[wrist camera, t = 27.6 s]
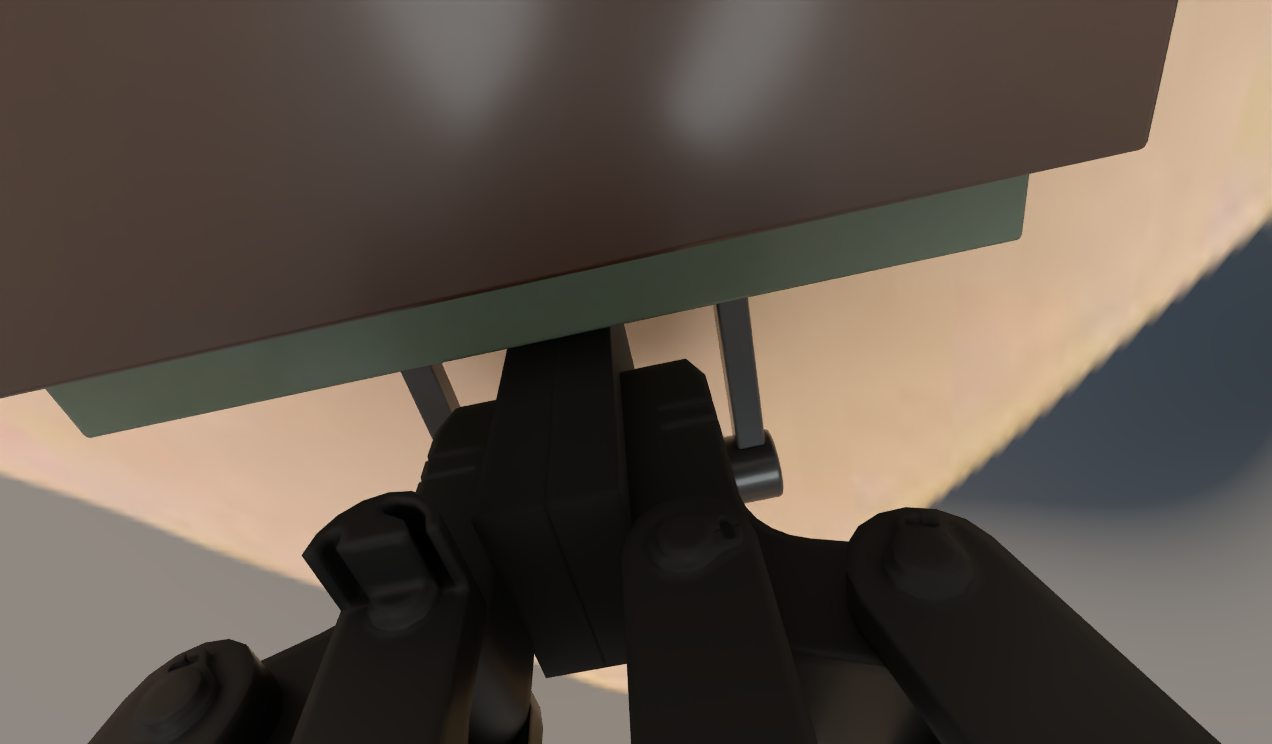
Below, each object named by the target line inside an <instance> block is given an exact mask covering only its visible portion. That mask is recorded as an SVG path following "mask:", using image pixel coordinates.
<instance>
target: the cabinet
mask: <svg viewBox="0 0 1272 744" xmlns="http://www.w3.org/2000/svg"><path fill="white" fill-rule="evenodd" d="M1177 3H1178V0H0V398H4V397H9V396H13V395H18V394H22V393H27V392H32V391H36V390H41V389H45V388H50V387H55V386H59V385H64V384H68V383H73V382H77V381H82V380H87V379H91V378H96V377H100V376H105V375H110V374H114V373H119V372H123V371H128V370H132V369H137V368H142V367H146V366H151V365H155V364H160V363H165V362H169V361H174V360H178V359H183V358H187V357H192V356H197V355H201V354H206V353H210V352H215V351H220V350H224V349H229V348H233V347H238V346H242V345H247V344H252V343H256V342H261V341H265V340H270V339H275V338H279V337H284V336H288V335H293V334H297V333H302V332H307V331H311V330H316V329H320V328H325V327H329V326H334V325H339V324H343V323H348V322H352V321H357V320H362V319H366V318H371V317H375V316H380V315H384V314H389V313H394V312H398V311H403V310H407V309H412V308H417V307H421V306H426V305H430V304H435V303H439V302H444V301H449V300H453V299H458V298H462V297H467V296H472V295H476V294H481V293H485V292H490V291H494V290H499V289H504V288H508V287H513V286H517V285H522V284H527V283H531V282H536V281H540V280H545V279H549V278H554V277H559V276H563V275H568V274H572V273H577V272H582V271H586V270H591V269H595V268H600V267H604V266H609V265H614V264H618V263H623V262H627V261H632V260H637V259H641V258H646V257H650V256H655V255H659V254H664V253H669V252H673V251H678V250H682V249H687V248H692V247H696V246H701V245H705V244H710V243H714V242H719V241H724V240H728V239H733V238H737V237H742V236H746V235H751V234H756V233H760V232H765V231H769V230H774V229H779V228H783V227H788V226H792V225H797V224H801V223H806V222H811V221H815V220H820V219H824V218H829V217H834V216H838V215H843V214H847V213H852V212H856V211H861V210H866V209H870V208H875V207H879V206H884V205H889V204H893V203H898V202H902V201H907V200H911V199H916V198H921V197H925V196H930V195H934V194H939V193H944V192H948V191H953V190H957V189H962V188H966V187H971V186H976V185H980V184H985V183H989V182H994V181H999V180H1003V179H1008V178H1012V177H1017V176H1021V175H1026V174H1031V173H1035V172H1040V171H1044V170H1049V169H1054V168H1058V167H1063V166H1067V165H1072V164H1076V163H1081V162H1086V161H1090V160H1095V159H1099V158H1104V157H1109V156H1113V155H1118V154H1122V153H1127V152H1131V151H1136V150H1140V149H1141V148H1143V147H1144V146H1145V145H1146V143H1147V142H1148V137H1149V132H1150V128H1151V123H1152V119H1153V114H1154V109H1155V105H1156V100H1157V95H1158V91H1159V86H1160V82H1161V77H1162V72H1163V68H1164V63H1165V59H1166V54H1167V49H1168V45H1169V40H1170V35H1171V31H1172V26H1173V22H1174V17H1175V12H1176V8H1177Z"/></svg>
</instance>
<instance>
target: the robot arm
mask: <svg viewBox="0 0 1272 744" xmlns="http://www.w3.org/2000/svg"><path fill="white" fill-rule="evenodd" d="M302 557H303V558H304V559H305V561H306V562H307V564H308V565H309V566H310V568H311V569H312V571H313V572H314V573H315V575H316V576H317V578H318V579H319V581H320V582H321V583H322V585H323V586H324V588H325V589H326V590H327V592H328V593H329V595H330V596H331V597H332V599H333V600H334V602H335V603H336V604H337V606H338V607H339V608H340V610H341V612H340V615H339V618H338V620H337V623H336V625H335V626H333V627H332V628H330V629H328V630H326V631H324V632H322V633H321V634H319V635H316V636H314V637H312V638H310V639H308V640H305V641H303V642H301V643H299V644H297V645H295V646H292V647H290V648H288V649H286V650H284V651H282V652H279V653H277V654H275V655H273V656H271V657H268V658H266V659H264V660H262V661H260V660H259V659H258V657H257V656H256V655H255V654H254V653H253V652H252V651H251V649H250V648H249V647H248V646H247V645H246V644H243V643H240V642H237V641H234V640H230V639H227V640H220V641H213V642H206V643H204V644H201V645H199V646H197V647H194V648H192V649H190V650H188V651H185V652H183V653H181V654H179V655H177V656H175V657H174V658H173V659H171V660H170V661H168V662H167V663H166V664H164V665H163V666H161V667H160V668H158V669H157V670H156V671H154V672H153V673H151V674H150V675H149V676H148V677H147V678H146V679H145V680H144V681H143V682H142V683H141V684H140V685H139V686H138V687H137V688H136V689H135V690H134V691H133V692H132V693H131V694H130V695H129V696H128V697H127V698H126V699H125V700H124V701H123V702H122V703H121V704H120V706H119V707H118V708H117V709H116V710H115V712H114V713H113V714H112V715H111V716H110V718H109V719H108V720H107V721H106V722H105V724H104V725H103V726H102V727H101V729H100V730H99V731H98V732H97V733H96V734H95V736H94V737H93V738H92V739H91V741H90V742H89V743H88V744H542V734H543V733H542V732H543V725H542V718H541V710H540V706H539V705H538V703H537V701H536V699H535V697H534V695H533V693H532V691H531V687H532V675H533V662H534V654H535V656H536V658H537V660H538V662H539V664H540V666H541V668H542V671H543V673H544V675H545V677H546V678H549V677H555V676H561V675H566V674H572V673H577V672H583V671H588V670H594V669H600V668H605V667H611V666H616V665H622V664H627V675H628V694H629V712H630V731H631V744H1221V743H1220V742H1219V741H1218V740H1217V739H1216V738H1214V737H1213V736H1212V735H1211V734H1210V733H1209V732H1208V731H1207V730H1206V729H1204V728H1203V727H1202V726H1201V725H1200V724H1199V723H1198V722H1197V721H1196V720H1194V719H1193V718H1192V717H1191V716H1190V715H1189V714H1188V713H1187V712H1186V711H1185V710H1183V709H1182V708H1181V707H1180V706H1179V705H1178V704H1177V703H1176V702H1175V701H1173V700H1172V699H1171V698H1170V697H1169V696H1168V695H1167V694H1166V693H1165V692H1163V691H1162V690H1161V689H1160V688H1159V687H1158V686H1157V685H1156V684H1155V683H1153V681H1151V680H1150V679H1149V678H1148V677H1147V676H1146V675H1145V674H1144V673H1143V672H1141V671H1140V670H1139V669H1138V668H1137V667H1136V666H1135V665H1134V664H1133V663H1132V662H1130V661H1129V660H1128V659H1127V658H1126V657H1125V656H1124V655H1123V654H1122V653H1120V652H1119V651H1118V650H1117V649H1116V648H1115V647H1114V646H1113V645H1112V644H1111V643H1109V642H1108V641H1107V640H1106V639H1105V638H1104V637H1103V636H1102V635H1101V634H1099V633H1098V632H1097V631H1096V630H1095V629H1094V628H1093V627H1092V626H1091V625H1090V624H1088V623H1087V622H1086V621H1085V620H1084V619H1083V618H1082V617H1081V616H1080V615H1079V614H1077V613H1076V612H1075V611H1074V610H1073V609H1072V608H1071V607H1070V606H1069V605H1067V604H1066V603H1065V602H1064V601H1063V600H1062V599H1061V598H1060V597H1059V596H1057V595H1056V594H1055V593H1054V592H1053V591H1052V590H1051V589H1050V588H1049V587H1048V586H1046V585H1045V584H1044V583H1043V582H1042V581H1041V580H1040V579H1039V578H1038V577H1036V576H1035V575H1034V574H1033V573H1032V572H1031V571H1030V570H1029V569H1028V568H1027V567H1025V566H1024V565H1023V564H1022V563H1021V562H1020V561H1019V560H1018V559H1017V558H1015V557H1014V556H1013V555H1012V554H1011V553H1010V552H1009V551H1008V550H1007V549H1006V548H1004V547H1003V546H1002V545H1001V544H1000V543H999V542H998V541H997V540H996V539H995V538H993V537H992V536H991V535H989V534H988V533H986V532H985V531H983V530H982V529H980V528H979V527H977V526H976V525H974V524H973V523H971V522H970V521H968V520H967V519H964V518H961V517H958V516H955V515H952V514H949V513H946V512H943V511H940V510H937V509H924V508H908V507H905V508H901V509H896V510H892V511H887V512H883V513H879V514H877V515H875V516H874V517H872V518H871V519H869V520H868V521H866V522H864V523H863V524H861V525H860V526H858V528H857V529H856V531H855V532H854V534H853V536H852V537H851V539H850V540H849V542H847V541H834V540H822V539H810V538H804V537H799V536H793V535H789V534H786V533H783V532H781V531H778V530H775V529H773V528H771V527H769V526H768V525H766V524H764V523H763V522H761V521H760V520H758V519H757V518H756V517H755V516H754V515H753V514H752V513H751V512H750V511H749V510H748V509H747V508H746V506H745V504H744V502H743V500H742V498H741V496H740V494H739V491H738V487H737V484H736V480H735V477H734V473H733V470H732V466H731V463H730V459H729V456H728V452H727V449H726V445H725V442H724V439H723V435H722V432H721V428H720V425H719V421H718V419H717V414H716V411H715V407H714V404H713V401H712V397H711V393H710V390H709V387H708V383H707V380H706V376H705V374H704V373H702V372H701V371H700V370H699V369H698V368H696V367H695V366H694V365H693V364H692V363H690V362H689V361H688V360H687V359H681V360H677V361H672V362H667V363H662V364H657V365H652V366H647V367H642V368H638V369H634V364H633V360H632V356H631V352H630V348H629V344H628V339H627V335H626V331H625V327H624V324H620V325H616V326H611V327H606V328H602V329H597V330H592V331H588V332H583V333H578V334H574V335H569V336H564V337H560V338H555V339H550V340H546V341H541V342H536V343H531V344H527V345H522V346H517V347H513V348H508V349H507V352H506V357H505V362H504V366H503V371H502V376H501V380H500V385H499V390H498V394H497V399H496V400H493V401H488V402H483V403H478V404H473V405H469V406H464V407H459V408H456V409H455V410H454V411H453V412H452V413H451V415H450V416H449V417H448V418H447V419H446V420H445V422H444V423H443V424H442V425H441V426H440V427H439V429H438V430H437V431H436V433H435V436H434V439H433V442H432V445H431V448H430V451H429V454H428V461H426V463H425V466H424V469H423V472H422V475H421V482H420V483H419V484H418V487H417V490H416V492H413V491H404V492H388V493H385V494H382V495H379V496H376V497H373V498H370V499H367V500H364V501H362V502H360V503H358V504H357V505H355V506H353V507H351V508H350V509H348V510H346V511H344V512H343V513H341V514H339V515H338V516H336V517H335V518H334V519H333V520H332V521H331V522H330V523H328V524H327V525H326V526H325V527H324V528H323V529H322V530H320V531H319V532H318V533H317V534H316V535H315V537H314V538H313V540H312V541H311V543H310V544H309V545H308V547H307V548H306V550H305V551H304V553H303V554H302Z"/></svg>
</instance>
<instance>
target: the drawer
mask: <svg viewBox="0 0 1272 744" xmlns="http://www.w3.org/2000/svg"><path fill="white" fill-rule="evenodd" d="M1028 179H1029V174H1026V175H1021V176H1017V177H1012V178H1008V179H1003V180H999V181H994V182H989V183H985V184H980V185H976V186H971V187H966V188H962V189H957V190H953V191H948V192H944V193H939V194H934V195H930V196H925V197H921V198H916V199H911V200H907V201H902V202H898V203H893V204H889V205H884V206H879V207H875V208H870V209H866V210H861V211H856V212H852V213H847V214H843V215H838V216H834V217H829V218H824V219H820V220H815V221H811V222H806V223H801V224H797V225H792V226H788V227H783V228H779V229H774V230H769V231H765V232H760V233H756V234H751V235H746V236H742V237H737V238H733V239H728V240H724V241H719V242H714V243H710V244H705V245H701V246H696V247H692V248H687V249H682V250H678V251H673V252H669V253H664V254H659V255H655V256H650V257H646V258H641V259H637V260H632V261H627V262H623V263H618V264H614V265H609V266H604V267H600V268H595V269H591V270H586V271H582V272H577V273H572V274H568V275H563V276H559V277H554V278H549V279H545V280H540V281H536V282H531V283H527V284H522V285H517V286H513V287H508V288H504V289H499V290H494V291H490V292H485V293H481V294H476V295H472V296H467V297H462V298H458V299H453V300H449V301H444V302H439V303H435V304H430V305H426V306H421V307H417V308H412V309H407V310H403V311H398V312H394V313H389V314H384V315H380V316H375V317H371V318H366V319H362V320H357V321H352V322H348V323H343V324H339V325H334V326H329V327H325V328H320V329H316V330H311V331H307V332H302V333H297V334H293V335H288V336H284V337H279V338H275V339H270V340H265V341H261V342H256V343H252V344H247V345H242V346H238V347H233V348H229V349H224V350H220V351H215V352H210V353H206V354H201V355H197V356H192V357H187V358H183V359H178V360H174V361H169V362H165V363H160V364H155V365H151V366H146V367H142V368H137V369H132V370H128V371H123V372H119V373H114V374H110V375H105V376H100V377H96V378H91V379H87V380H82V381H77V382H73V383H68V384H64V385H59V386H55V387H50V388H45V389H46V390H47V391H48V393H49V394H50V395H51V396H52V397H53V399H54V400H55V401H56V402H57V403H58V405H59V406H60V407H61V408H62V409H63V410H64V412H65V413H66V414H67V415H68V416H69V418H70V419H71V420H72V421H73V422H74V424H75V425H76V426H77V427H78V428H79V430H80V431H81V432H82V433H83V434H84V435H85V436H86V437H89V438H92V437H96V436H101V435H106V434H110V433H115V432H120V431H124V430H129V429H134V428H138V427H143V426H148V425H152V424H157V423H162V422H166V421H171V420H176V419H181V418H185V417H190V416H195V415H199V414H204V413H209V412H213V411H218V410H223V409H227V408H232V407H237V406H241V405H246V404H251V403H255V402H260V401H265V400H269V399H274V398H279V397H283V396H288V395H293V394H298V393H302V392H307V391H312V390H316V389H321V388H326V387H330V386H335V385H340V384H344V383H349V382H354V381H358V380H363V379H368V378H372V377H377V376H382V375H386V374H391V373H396V372H400V371H401V373H402V375H403V378H404V380H405V382H406V384H407V386H408V388H409V390H410V392H411V394H412V397H413V399H414V401H415V403H416V405H417V407H418V409H419V411H420V414H421V416H422V418H423V420H424V422H425V424H426V426H427V428H428V431H429V433H430V435H431V437H432V439H434V436H435V433H436V431H437V430H438V429H439V427H440V426H441V425H442V424H443V423H444V422H445V420H446V419H447V418H448V417H449V416H450V415H451V413H452V412H453V411H454V410H455V409H456V408H459V407H460V405H459V403H458V400H457V398H456V396H455V393H454V391H453V388H452V386H451V384H450V381H449V379H448V377H447V374H446V372H445V370H444V367H443V365H442V363H443V362H447V361H452V360H457V359H461V358H466V357H471V356H475V355H480V354H485V353H489V352H494V351H499V350H503V349H508V348H513V347H517V346H522V345H527V344H531V343H536V342H541V341H546V340H550V339H555V338H560V337H564V336H569V335H574V334H578V333H583V332H588V331H592V330H597V329H602V328H606V327H611V326H616V325H620V324H625V323H630V322H634V321H639V320H644V319H648V318H653V317H658V316H662V315H667V314H672V313H677V312H681V311H686V310H691V309H695V308H700V307H705V306H709V305H713V308H714V314H715V321H716V328H717V334H718V341H719V347H720V354H721V360H722V367H723V373H724V380H725V386H726V393H727V399H728V406H729V412H730V419H731V425H732V432H733V435H732V436H727V437H723V439H724V442H725V445H726V449H727V452H728V456H729V459H730V463H731V466H732V470H733V473H734V477H735V480H736V484H737V487H738V491H739V494H740V496H741V498H742V500H743V502H744V503H749V502H754V501H759V500H764V499H769V498H774V497H779V496H781V495H782V494H783V478H782V472H781V467H780V462H779V458H778V454H777V451H776V447H775V444H774V441H773V439H772V437H771V435H770V433H769V432H768V430H765V429H764V428H763V420H762V412H761V403H760V395H759V387H758V378H757V370H756V362H755V353H754V345H753V337H752V328H751V320H750V312H749V303H748V297H751V296H756V295H761V294H765V293H770V292H775V291H779V290H784V289H789V288H794V287H798V286H803V285H808V284H812V283H817V282H822V281H826V280H831V279H836V278H840V277H845V276H850V275H854V274H859V273H864V272H868V271H873V270H878V269H882V268H887V267H892V266H896V265H901V264H906V263H910V262H915V261H920V260H925V259H929V258H934V257H939V256H943V255H948V254H953V253H957V252H962V251H967V250H971V249H976V248H981V247H985V246H990V245H995V244H999V243H1004V242H1009V241H1013V240H1017V239H1019V238H1020V237H1021V235H1022V227H1023V219H1024V211H1025V203H1026V195H1027V187H1028Z"/></svg>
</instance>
